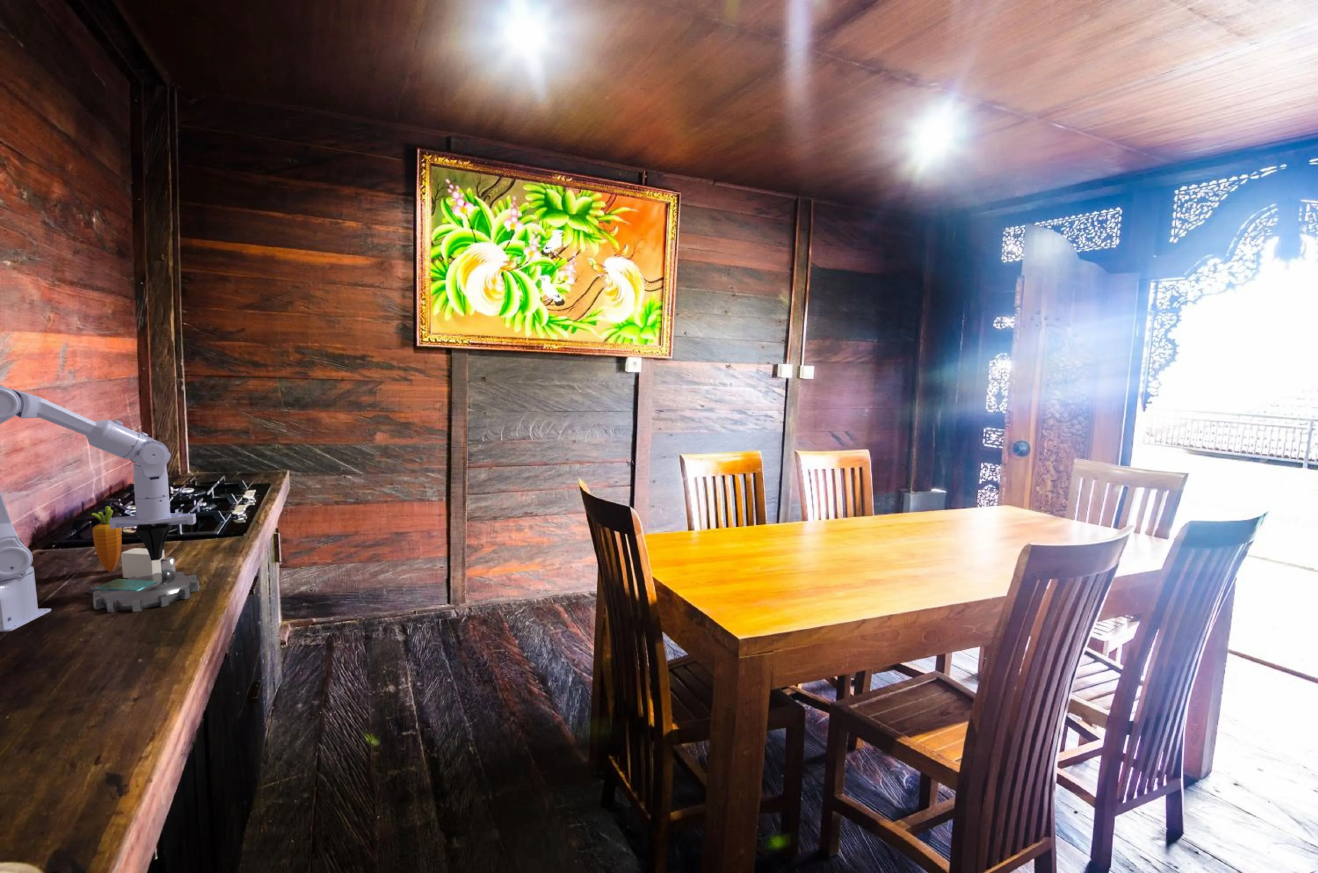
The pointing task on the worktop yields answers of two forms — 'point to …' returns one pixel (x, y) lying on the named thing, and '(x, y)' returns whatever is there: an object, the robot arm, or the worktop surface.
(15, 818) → the worktop surface
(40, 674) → the worktop surface
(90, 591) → the timing pointer
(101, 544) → the carrot
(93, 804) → the worktop surface
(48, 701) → the worktop surface
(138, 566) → the white rectangular block
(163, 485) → the robot arm
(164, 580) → the sprocket
